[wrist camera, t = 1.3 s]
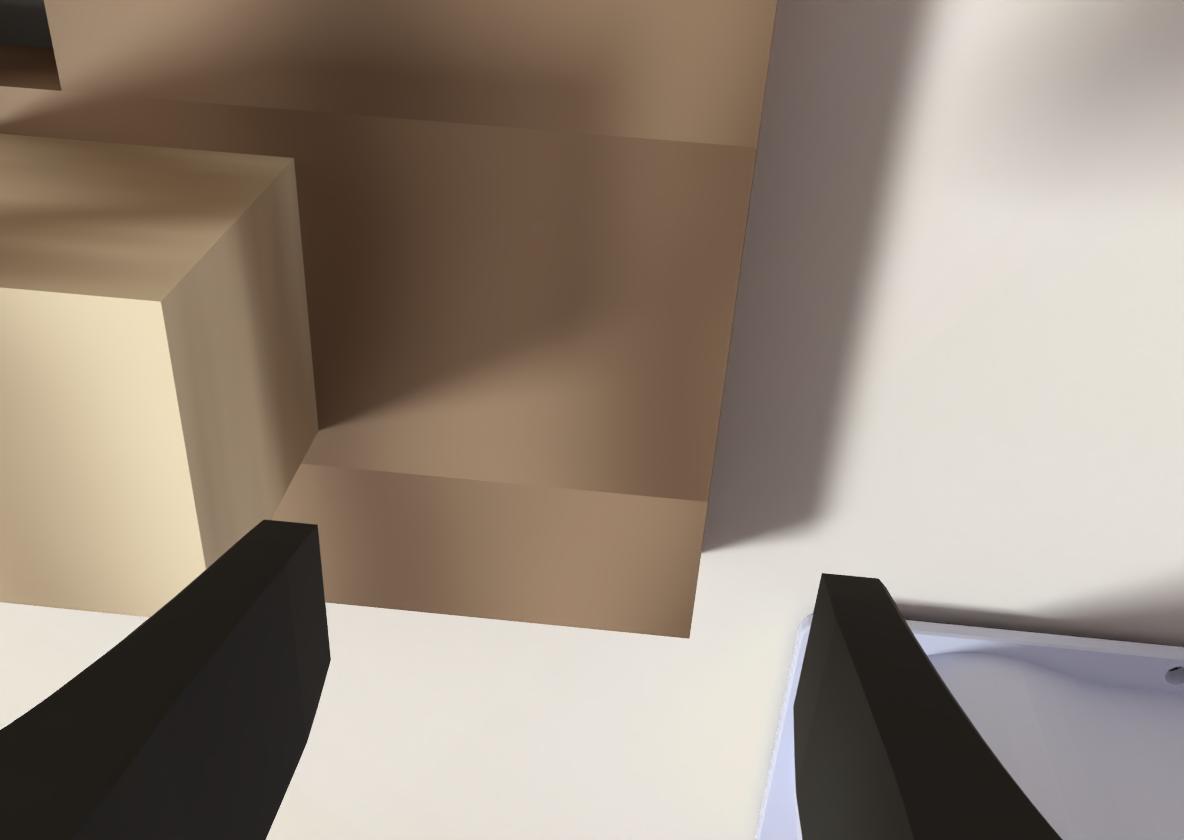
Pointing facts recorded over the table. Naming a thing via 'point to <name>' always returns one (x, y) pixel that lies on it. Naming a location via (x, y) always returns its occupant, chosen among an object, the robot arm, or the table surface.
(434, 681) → the table surface
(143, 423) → the maple block
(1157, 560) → the table surface
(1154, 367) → the table surface
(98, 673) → the robot arm
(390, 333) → the trap board
